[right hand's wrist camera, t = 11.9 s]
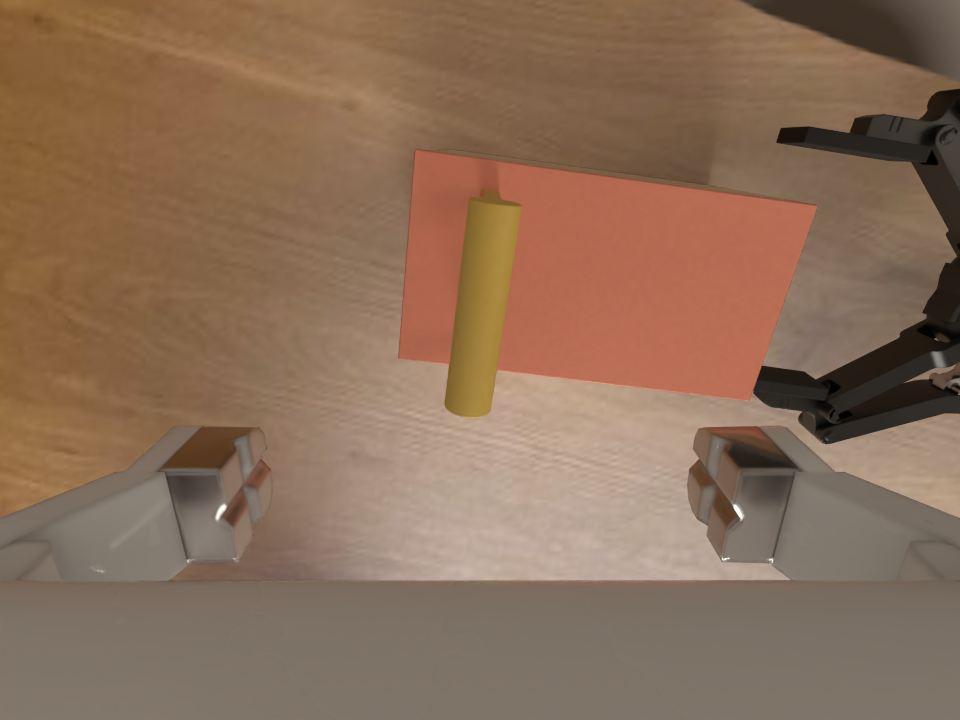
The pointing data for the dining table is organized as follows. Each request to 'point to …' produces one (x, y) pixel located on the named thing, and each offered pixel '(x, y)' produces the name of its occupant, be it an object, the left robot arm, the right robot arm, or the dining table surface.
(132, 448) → the dining table surface
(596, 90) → the dining table surface
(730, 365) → the lid
